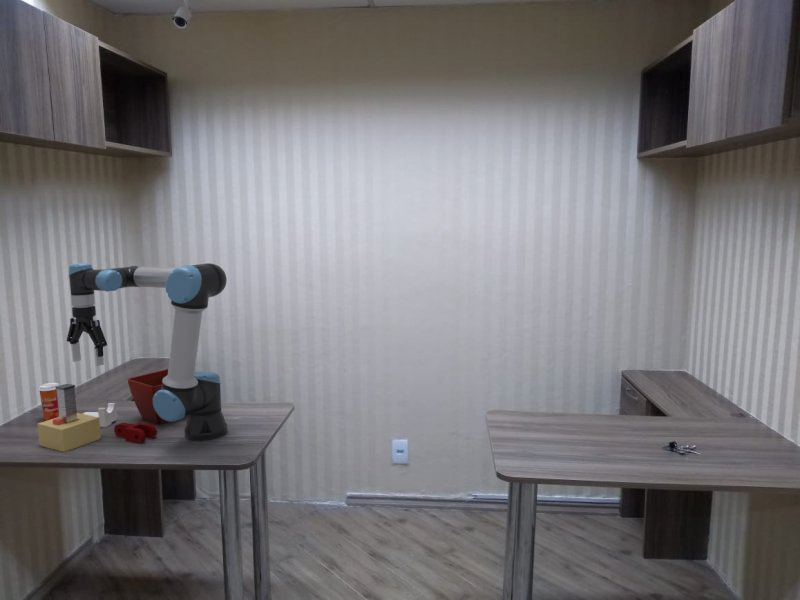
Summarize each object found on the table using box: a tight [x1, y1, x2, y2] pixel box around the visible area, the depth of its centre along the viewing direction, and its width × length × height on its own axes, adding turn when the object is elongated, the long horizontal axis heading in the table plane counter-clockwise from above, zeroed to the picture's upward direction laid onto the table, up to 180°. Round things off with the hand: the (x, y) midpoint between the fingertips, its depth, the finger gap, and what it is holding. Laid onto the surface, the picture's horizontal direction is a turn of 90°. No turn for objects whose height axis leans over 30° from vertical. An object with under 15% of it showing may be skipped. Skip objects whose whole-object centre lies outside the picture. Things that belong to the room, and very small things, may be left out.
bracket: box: [82, 402, 118, 428], centre depth 235 cm, size 13×7×8 cm, turn 81°
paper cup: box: [38, 382, 60, 421], centre depth 241 cm, size 8×8×14 cm
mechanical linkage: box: [113, 421, 158, 445], centre depth 220 cm, size 16×7×5 cm, turn 67°
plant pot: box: [127, 368, 170, 425], centre depth 241 cm, size 19×19×17 cm
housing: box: [37, 412, 102, 453], centre depth 216 cm, size 14×14×10 cm
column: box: [56, 383, 78, 424], centre depth 215 cm, size 5×5×21 cm
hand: (88, 363), depth 221 cm, fingers open, 13 cm apart
